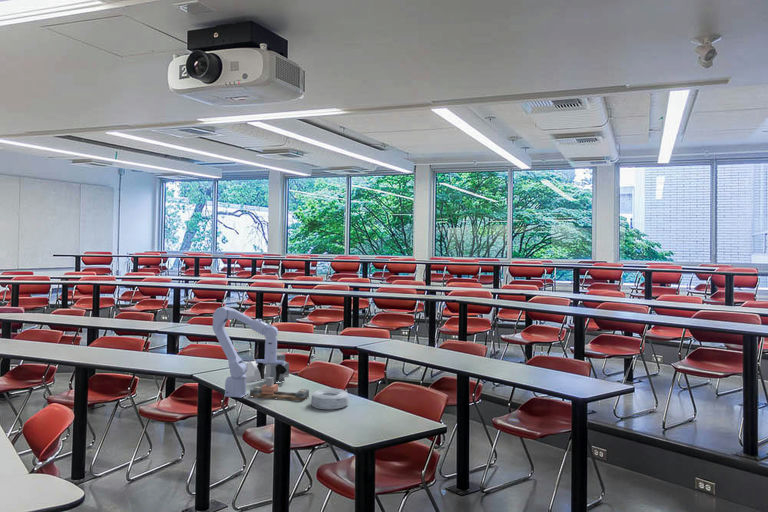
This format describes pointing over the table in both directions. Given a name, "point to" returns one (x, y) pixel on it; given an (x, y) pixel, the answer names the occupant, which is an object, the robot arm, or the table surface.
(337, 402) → the cable
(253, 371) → the white slotted bracket
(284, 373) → the circuit breaker
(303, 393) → the rail
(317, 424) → the table surface
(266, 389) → the carriage
